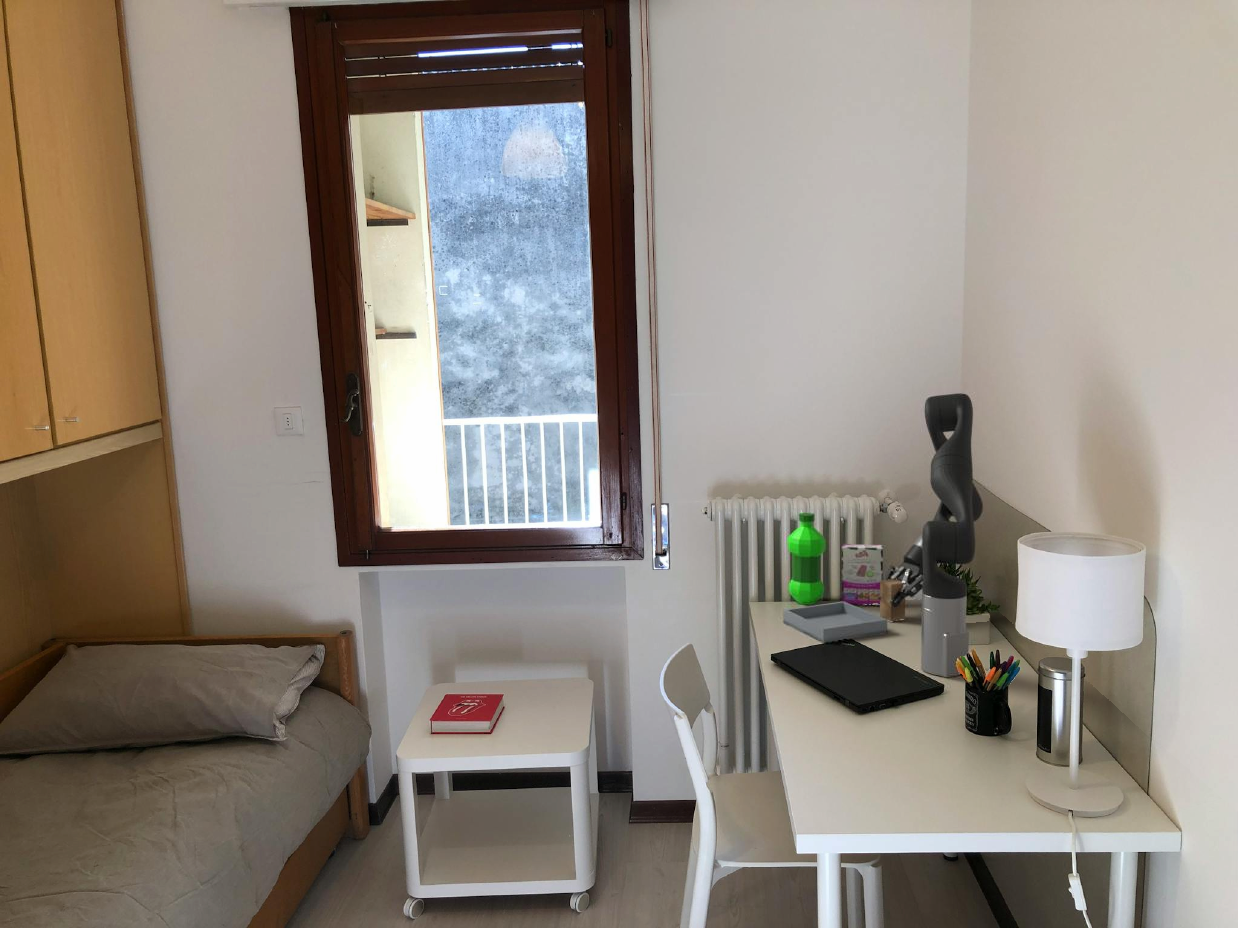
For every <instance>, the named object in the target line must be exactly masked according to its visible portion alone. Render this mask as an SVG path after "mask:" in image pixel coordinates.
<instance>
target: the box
mask: <svg viewBox="0 0 1238 928" xmlns="http://www.w3.org/2000/svg"><path fill="white" fill-rule="evenodd" d="M782 610H783V611H782V613H783V615H782V617H783V618H782V620H783V621H782V623H783V624H785V625H787V626H788V627H791V628H793V629H794V630H796V631H799V632H800V633H803V634H804V635H807V636H808V637H811V638H812V639H814V640H816V641H817V642H820V643H822V644H826V642H828V643H833V642H832V641H834V642H838V640H841V639H847V640H851V639H852V640H854V639H858V638H864V637H871V636H872V637H873V636H877V635H885V634H884V633H886V634H888V621H887V619H885V618H882V617H880V615H877V614H874V613H872V612H870V611H867V610H866V609H863V608H861V607H858V606H857V605H851V604H849V603H846V602H844V601H843V602H842V601H837V602H831V603H830V602H829V603H823V604H815V605H807V606H801V607H800V606H799V607H793V608H786V609H785V608H784V609H782ZM841 641H842V640H841Z"/></svg>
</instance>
